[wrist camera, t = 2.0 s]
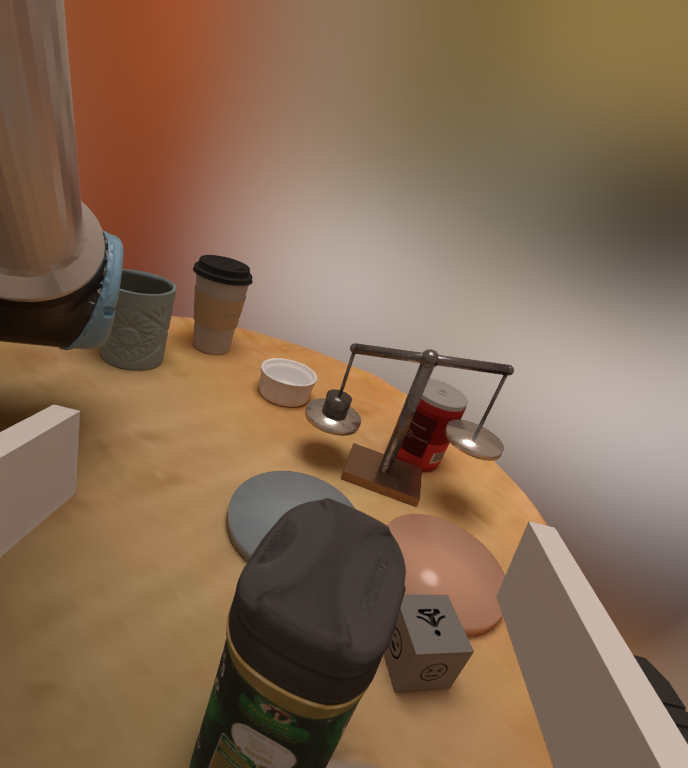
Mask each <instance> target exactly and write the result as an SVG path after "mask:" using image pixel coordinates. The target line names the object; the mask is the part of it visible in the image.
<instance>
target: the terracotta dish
mask: <svg viewBox="0 0 688 768" xmlns="http://www.w3.org/2000/svg"><path fill="white" fill-rule="evenodd" d="M387 526H388V527H389V529H390V531H391V533H392V535H393V536H394V538H395V539H396V541H397V543H398V545H399V547H400V549H401V551H402V554H403V557H404V561H405V566H406V577H405V588H406V591H405V594H404V595H448V596H449V598H450V600H451V603H452V605H453V607H454V609H455V611H456V614H457V616H458V618H459V620H460V622H461V625H462V627H463V629H464V631H465V633H466V635H467V637H473V636H478V635H482V634H484V633H486V632H488V631H489V630H491V629H492V628H493V627H494V626H495V625H496V624H497V623H498V621H499V620H500V618H501V617H502V612H501V609H500V606H499V603H498V600H497V597H496V596H497V594H498V591H499V589H500V587H501V584H502V582H503V580H504V578H505V574H504V572H503V570H502V568H501V566H500V565H499V563H498V562H497V560H496V559H495V557H494V556H493V555H492V554H491V552H490V551H489V550H488V549H487V548H486V547H485V546H484V545H483V544H482V543H481V542H480V541H479V540H477V539H476V538H475V537H474V536H473V535H471V534H470V533H468V532H467V531H465V530H464V529H462V528H460V527H459V526H457V525H455V524H453V523H451V522H449V521H446V520H444V519H441V518H438V517H434V516H430V515H423V514H410V515H404V516H401V517H398V518H396V519H394V520H392V521H391V522H390V523H389V524H388V525H387Z"/></svg>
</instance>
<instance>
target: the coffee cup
mask: <svg viewBox="0 0 688 768" xmlns="http://www.w3.org/2000/svg"><path fill="white" fill-rule="evenodd" d="M193 271H194V272H195V273H196V276H197V277H196V286H195V300H194V320H195V323H194V346H195V348H197V349H198V350H200V351H202V352H204V353H207V354H213V355H220V354H224V353H226V352H227V351H228V350H229V347H230V344H231V341H232V337H233V334H234V331H235V328H236V327H237V324H238V321H239V318H240V314H241V312H242V308H243V305H244V302H245V299H246V292H247V289H248V286H249V285H250V284H252V275H251V274H250V268H249V267H248V266H247V265H245V264H244V263H242V262H239V261H237V260H234V259H231V258H227V257H222V256H216V255H204V256H201V257H200V259H199V261H198V262H196V263H195V265H194V268H193Z"/></svg>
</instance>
